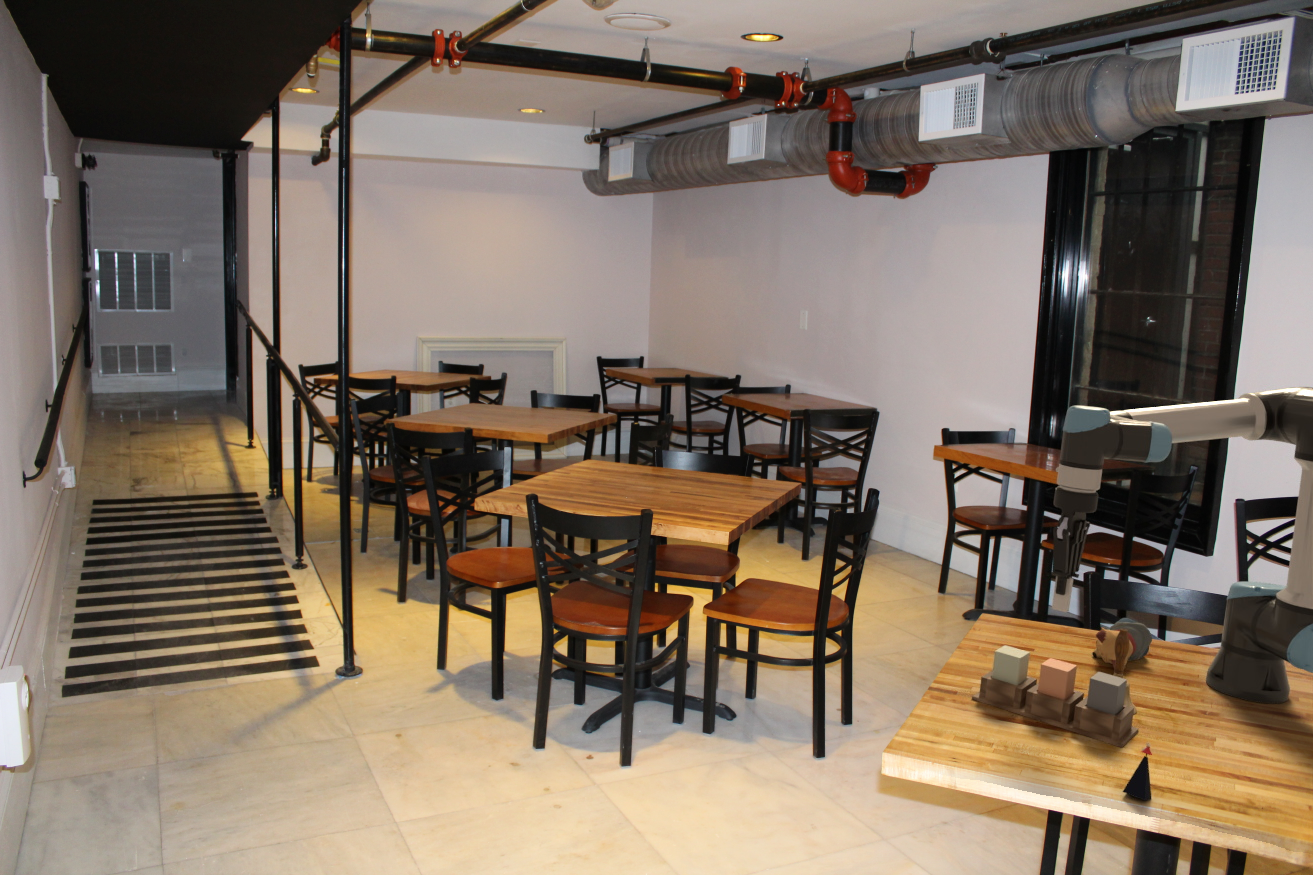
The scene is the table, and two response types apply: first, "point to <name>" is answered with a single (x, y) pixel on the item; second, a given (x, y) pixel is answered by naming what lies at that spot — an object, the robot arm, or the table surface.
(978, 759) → the table surface
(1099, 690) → the grey square block
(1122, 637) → the hand bell
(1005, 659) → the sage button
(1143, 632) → the figurine
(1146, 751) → the figurine
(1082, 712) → the wooden base
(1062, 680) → the terracotta button
